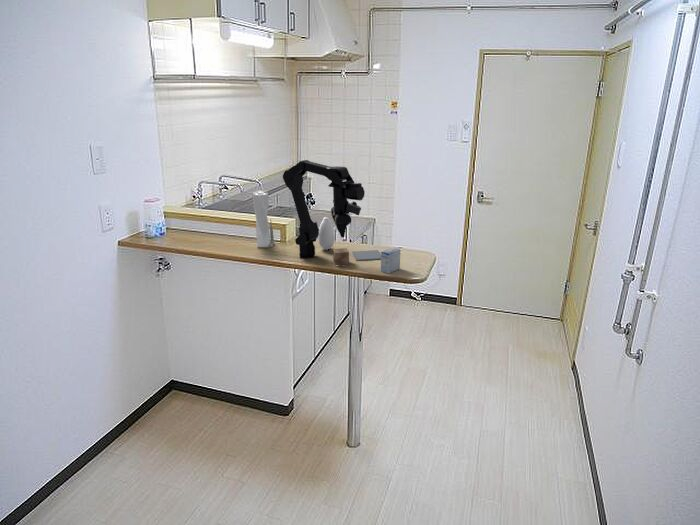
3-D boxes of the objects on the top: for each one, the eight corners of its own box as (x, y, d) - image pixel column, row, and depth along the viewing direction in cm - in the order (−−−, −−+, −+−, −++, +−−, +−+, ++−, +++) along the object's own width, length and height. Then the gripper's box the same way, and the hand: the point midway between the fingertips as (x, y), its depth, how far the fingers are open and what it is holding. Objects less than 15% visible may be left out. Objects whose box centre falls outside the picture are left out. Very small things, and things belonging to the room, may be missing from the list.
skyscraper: (271, 248, 238) (267, 190, 229) (254, 248, 238) (250, 190, 229) (274, 243, 246) (270, 186, 237) (258, 243, 246) (253, 186, 237)
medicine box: (391, 266, 212) (391, 246, 209) (400, 268, 209) (400, 248, 207) (380, 271, 206) (380, 251, 204) (389, 273, 204) (389, 253, 201)
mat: (356, 260, 219) (356, 259, 219) (352, 252, 231) (352, 251, 230) (383, 259, 221) (383, 258, 221) (377, 251, 232) (377, 249, 232)
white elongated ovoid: (333, 252, 231) (332, 214, 225) (316, 251, 233) (315, 213, 227) (336, 247, 238) (336, 210, 233) (320, 246, 240) (319, 209, 234)
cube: (335, 266, 213) (334, 252, 211) (333, 261, 219) (333, 248, 217) (349, 265, 214) (348, 252, 212) (347, 261, 220) (346, 248, 218)
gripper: (363, 201, 200) (363, 239, 205) (355, 192, 217) (356, 227, 222) (335, 203, 198) (336, 241, 203) (330, 194, 216) (331, 229, 221)
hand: (341, 234), depth 212 cm, fingers open, 9 cm apart
